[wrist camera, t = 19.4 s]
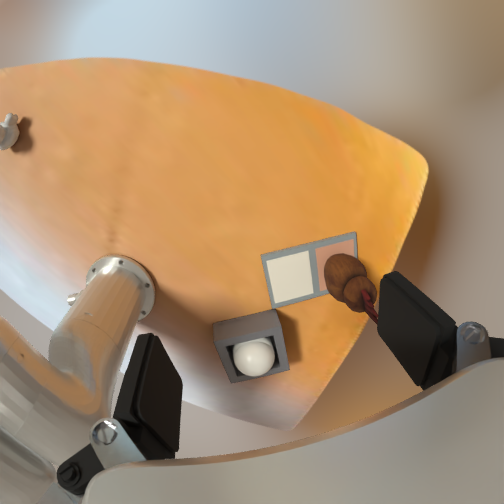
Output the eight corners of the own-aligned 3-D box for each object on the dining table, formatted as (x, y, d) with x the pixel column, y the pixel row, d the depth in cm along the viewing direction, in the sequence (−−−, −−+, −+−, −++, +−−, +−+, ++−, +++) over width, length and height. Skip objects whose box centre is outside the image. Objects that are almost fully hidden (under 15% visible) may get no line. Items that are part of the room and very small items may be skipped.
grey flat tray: (271, 306, 46) (272, 309, 45) (260, 254, 42) (261, 256, 41) (356, 282, 46) (358, 284, 46) (354, 231, 43) (356, 232, 42)
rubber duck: (1, 142, 28) (-27, 146, 21) (14, 108, 27) (-14, 107, 19) (16, 154, 30) (-13, 159, 22) (30, 118, 28) (1, 118, 21)
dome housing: (229, 364, 50) (231, 383, 46) (213, 323, 46) (213, 341, 41) (284, 352, 50) (289, 369, 46) (275, 308, 46) (281, 325, 42)
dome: (237, 360, 48) (240, 387, 42) (227, 333, 46) (229, 361, 39) (273, 352, 48) (281, 378, 42) (267, 324, 46) (274, 351, 39)
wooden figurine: (348, 282, 45) (391, 333, 31) (317, 285, 45) (354, 342, 31) (352, 246, 43) (403, 290, 29) (320, 248, 42) (364, 296, 28)
